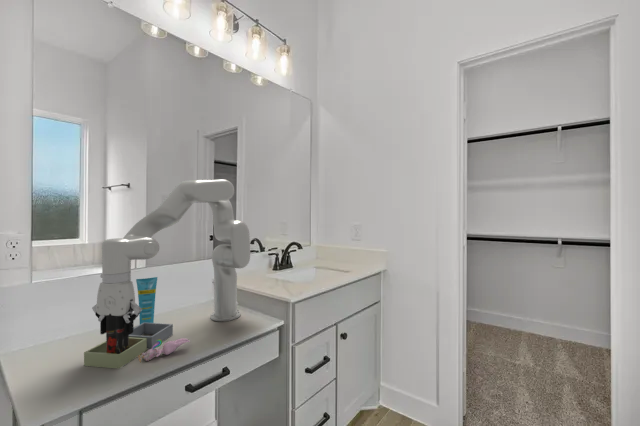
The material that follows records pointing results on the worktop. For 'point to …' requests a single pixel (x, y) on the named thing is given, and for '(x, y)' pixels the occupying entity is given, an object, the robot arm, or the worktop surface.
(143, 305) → the tube
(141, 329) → the bin
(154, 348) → the pink toy figurine
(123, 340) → the deodorant
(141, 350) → the bin
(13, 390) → the worktop surface
